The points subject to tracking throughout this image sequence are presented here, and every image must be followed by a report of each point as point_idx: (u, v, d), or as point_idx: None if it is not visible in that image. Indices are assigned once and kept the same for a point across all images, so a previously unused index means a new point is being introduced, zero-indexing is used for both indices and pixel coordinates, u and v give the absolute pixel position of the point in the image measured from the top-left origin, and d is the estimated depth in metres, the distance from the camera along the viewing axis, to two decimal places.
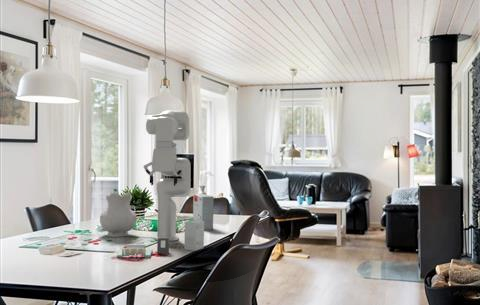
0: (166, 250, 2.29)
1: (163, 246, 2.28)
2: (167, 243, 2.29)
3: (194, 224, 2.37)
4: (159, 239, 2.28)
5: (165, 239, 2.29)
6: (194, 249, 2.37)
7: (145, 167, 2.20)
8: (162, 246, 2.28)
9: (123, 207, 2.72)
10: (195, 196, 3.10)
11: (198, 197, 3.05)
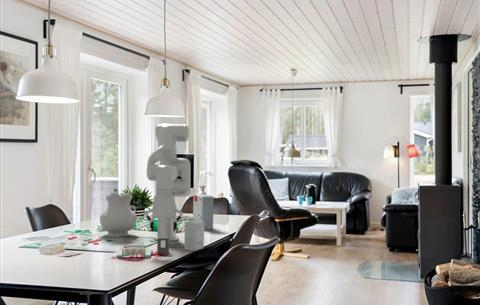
0: (166, 250, 2.29)
1: (163, 246, 2.28)
2: (167, 243, 2.29)
3: (194, 224, 2.37)
4: (159, 239, 2.28)
5: (165, 239, 2.29)
6: (194, 249, 2.37)
7: (146, 214, 2.29)
8: (162, 246, 2.28)
9: (123, 207, 2.72)
10: (195, 196, 3.10)
11: (198, 197, 3.05)
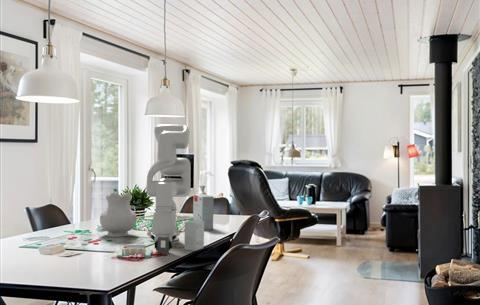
0: (166, 250, 2.29)
1: (163, 246, 2.28)
2: (167, 243, 2.29)
3: (194, 224, 2.37)
4: (159, 239, 2.28)
5: (165, 239, 2.29)
6: (194, 249, 2.37)
7: (149, 234, 2.29)
8: (162, 246, 2.28)
9: (123, 207, 2.72)
10: (195, 196, 3.10)
11: (198, 197, 3.05)
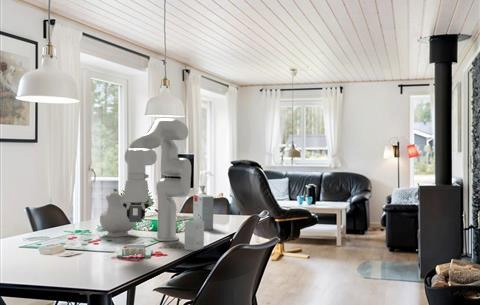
0: (138, 218, 2.23)
1: (135, 214, 2.23)
2: (139, 211, 2.23)
3: (194, 224, 2.37)
4: (131, 207, 2.23)
5: (137, 207, 2.23)
6: (194, 249, 2.37)
7: (121, 202, 2.24)
8: (134, 214, 2.22)
9: (123, 207, 2.72)
10: (195, 196, 3.10)
11: (198, 197, 3.05)
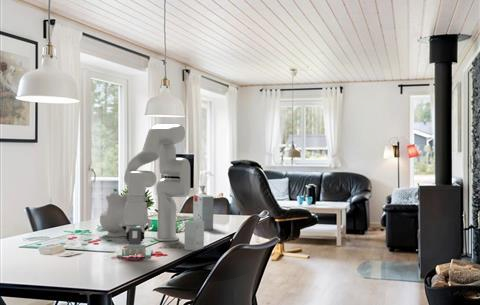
0: (138, 240, 2.23)
1: (135, 237, 2.22)
2: (139, 234, 2.23)
3: (194, 224, 2.37)
4: (131, 229, 2.23)
5: (137, 229, 2.23)
6: (194, 249, 2.37)
7: (120, 224, 2.24)
8: (134, 237, 2.22)
9: (123, 207, 2.72)
10: (195, 196, 3.10)
11: (198, 197, 3.05)
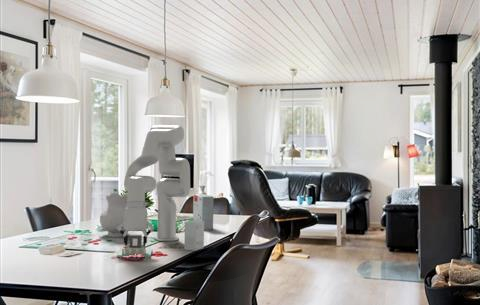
0: None
1: (135, 244, 2.23)
2: (139, 241, 2.24)
3: (194, 224, 2.37)
4: (131, 237, 2.23)
5: (137, 237, 2.24)
6: (194, 249, 2.37)
7: (118, 228, 2.24)
8: (134, 244, 2.23)
9: (123, 207, 2.72)
10: (195, 196, 3.10)
11: (198, 197, 3.05)
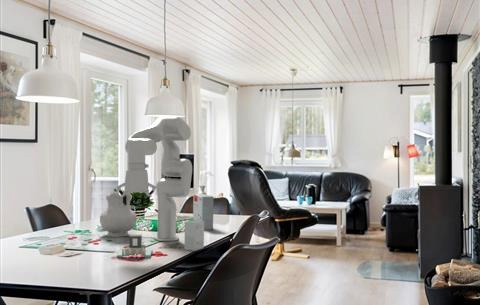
0: None
1: (135, 244, 2.23)
2: (139, 241, 2.24)
3: (194, 224, 2.37)
4: (131, 237, 2.23)
5: (137, 237, 2.24)
6: (194, 249, 2.37)
7: (118, 188, 2.28)
8: (134, 244, 2.23)
9: (123, 207, 2.72)
10: (195, 196, 3.10)
11: (198, 197, 3.05)
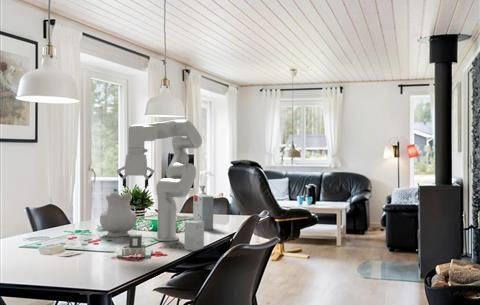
0: None
1: (135, 244, 2.23)
2: (139, 241, 2.24)
3: (194, 224, 2.37)
4: (131, 237, 2.23)
5: (137, 237, 2.24)
6: (194, 249, 2.37)
7: (118, 171, 2.40)
8: (134, 244, 2.23)
9: (123, 207, 2.72)
10: (195, 196, 3.10)
11: (198, 197, 3.05)
